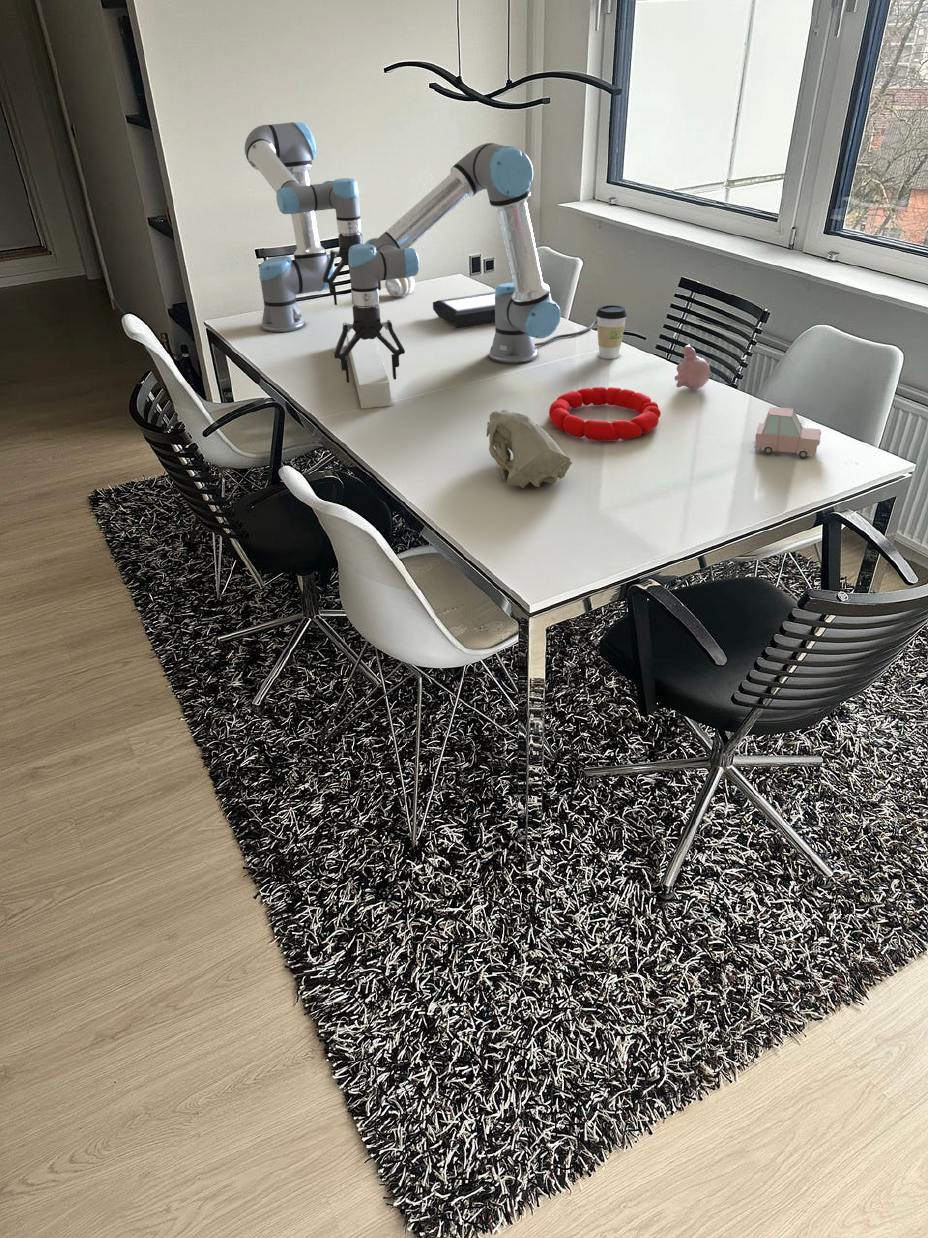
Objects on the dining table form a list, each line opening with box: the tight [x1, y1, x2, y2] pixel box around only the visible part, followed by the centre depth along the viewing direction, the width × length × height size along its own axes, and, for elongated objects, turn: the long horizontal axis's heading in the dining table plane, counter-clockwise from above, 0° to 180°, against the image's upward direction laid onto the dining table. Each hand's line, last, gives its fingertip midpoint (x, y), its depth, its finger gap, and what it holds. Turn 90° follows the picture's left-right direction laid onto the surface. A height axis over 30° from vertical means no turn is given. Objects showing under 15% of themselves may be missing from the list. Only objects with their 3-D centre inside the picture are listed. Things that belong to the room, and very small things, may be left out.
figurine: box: [674, 344, 711, 390], centre depth 259 cm, size 9×11×12 cm
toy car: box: [753, 406, 822, 459], centre depth 222 cm, size 9×15×10 cm, turn 70°
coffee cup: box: [595, 304, 628, 360], centre depth 285 cm, size 10×10×15 cm
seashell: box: [384, 276, 416, 298], centre depth 353 cm, size 10×15×10 cm
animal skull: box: [485, 409, 573, 489], centre depth 216 cm, size 17×25×20 cm
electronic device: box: [432, 291, 495, 330], centre depth 326 cm, size 32×6×20 cm
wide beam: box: [345, 329, 392, 409], centre depth 280 cm, size 60×9×7 cm, turn 10°
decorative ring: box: [548, 386, 661, 442], centre depth 242 cm, size 7×30×30 cm
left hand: (356, 302), depth 293 cm, fingers open, 13 cm apart
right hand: (371, 379), depth 259 cm, fingers open, 13 cm apart
